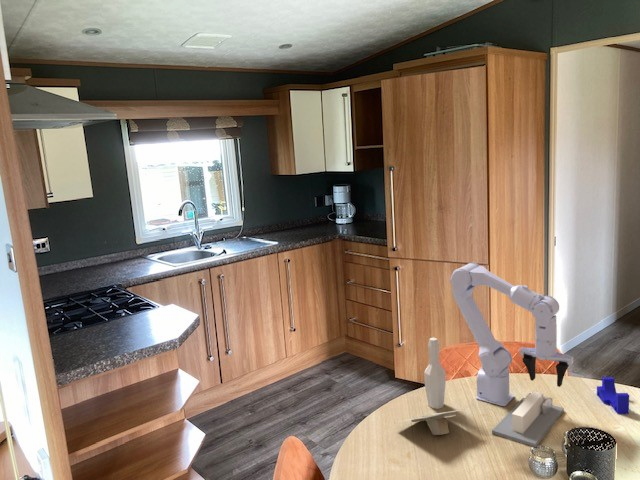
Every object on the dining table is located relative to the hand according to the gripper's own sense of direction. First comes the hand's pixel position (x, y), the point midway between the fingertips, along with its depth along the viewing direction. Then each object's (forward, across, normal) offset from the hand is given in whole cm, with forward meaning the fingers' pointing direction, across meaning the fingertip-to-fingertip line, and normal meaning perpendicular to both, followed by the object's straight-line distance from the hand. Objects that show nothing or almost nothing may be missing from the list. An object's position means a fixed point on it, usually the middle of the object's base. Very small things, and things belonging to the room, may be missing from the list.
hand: (546, 382), depth 154 cm
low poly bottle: (+10, -29, -14) cm, 34 cm away
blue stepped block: (+10, +14, +15) cm, 23 cm away
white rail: (+8, -2, -9) cm, 12 cm away
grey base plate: (+9, -2, -8) cm, 13 cm away
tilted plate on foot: (+10, -23, -28) cm, 37 cm away
